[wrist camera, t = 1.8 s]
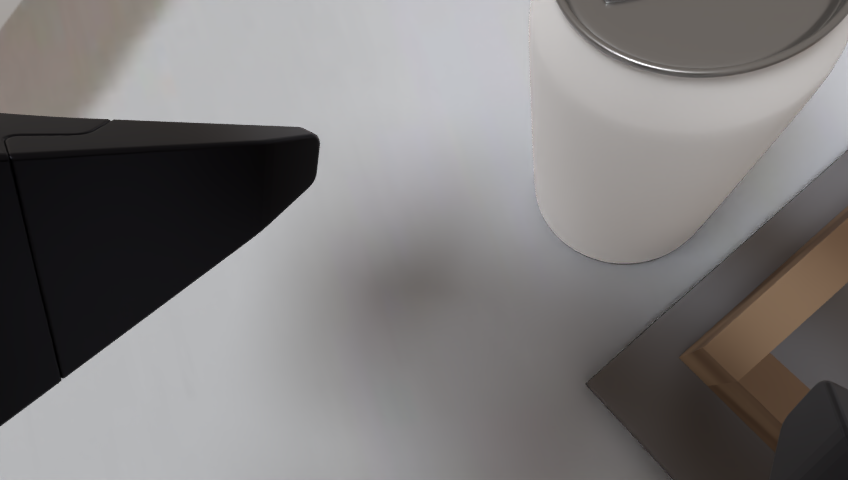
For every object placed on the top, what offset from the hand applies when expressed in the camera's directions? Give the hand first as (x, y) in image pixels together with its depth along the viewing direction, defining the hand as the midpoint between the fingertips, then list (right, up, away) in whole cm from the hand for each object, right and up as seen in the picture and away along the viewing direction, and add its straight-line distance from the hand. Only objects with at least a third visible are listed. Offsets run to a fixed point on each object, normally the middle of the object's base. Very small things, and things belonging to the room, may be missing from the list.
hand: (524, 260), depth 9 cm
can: (+6, +2, +12) cm, 14 cm away
